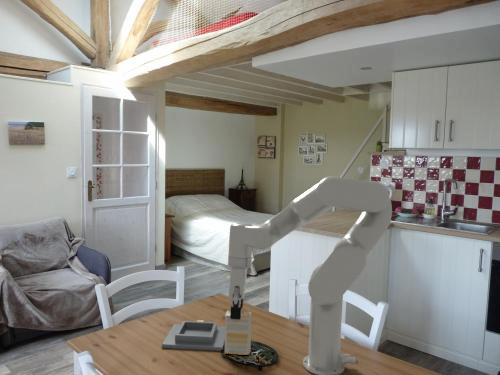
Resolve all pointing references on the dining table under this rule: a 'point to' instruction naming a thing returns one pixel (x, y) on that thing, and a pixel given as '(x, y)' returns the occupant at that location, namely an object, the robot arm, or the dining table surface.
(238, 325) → the supplement box
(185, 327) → the cradle board
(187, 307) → the dining table surface
